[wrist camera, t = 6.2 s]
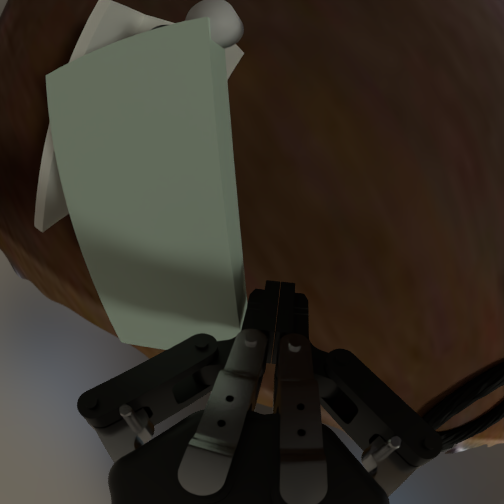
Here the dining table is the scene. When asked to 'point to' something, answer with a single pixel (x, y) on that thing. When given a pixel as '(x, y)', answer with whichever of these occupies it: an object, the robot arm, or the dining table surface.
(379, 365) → the dining table surface
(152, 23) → the curved white channel
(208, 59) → the cover
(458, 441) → the cable lock
